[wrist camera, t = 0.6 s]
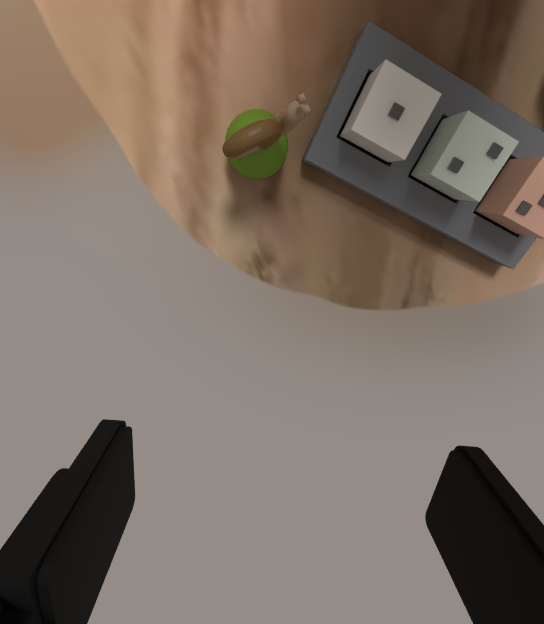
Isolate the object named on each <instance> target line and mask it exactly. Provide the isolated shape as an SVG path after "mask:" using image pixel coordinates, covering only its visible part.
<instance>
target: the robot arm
mask: <svg viewBox="0 0 544 624" xmlns="http://www.w3.org/2000/svg"><path fill="white" fill-rule="evenodd" d="M134 501H135V483H134V462H133V440H132V428H131V427H126V423H125V421H118V420H102V421H101V422H100V423H99V425H98V426H97V428H96V429H95V431H94V432H93V434H92V435H91V437H90V438H89V440H88V441H87V443H86V444H85V445H84V447H83V448H82V450H81V451H80V453H79V455H78V456H77V457H76V459H75V460H74V462H73V463H72V465H71V466H70V468H69V469H65V468H64V469H60V470H59V471H57V472H56V473H55V474H54V475H53V477H52V478H51V479H50V481H49V482H48V483H47V485H46V486H45V488H44V489H43V490H42V492H41V493H40V495H39V496H38V498H37V499H36V500H35V502H34V503H33V505H32V506H31V507H30V509H29V510H28V512H27V513H26V514H25V516H24V517H23V519H22V520H21V522H20V523H19V524H18V526H17V527H16V529H15V530H14V531H13V533H12V534H11V536H10V537H9V538H8V540H7V541H6V543H5V544H4V545H3V547H2V548H1V550H0V624H87V623H88V620H89V617H90V615H91V613H92V610H93V608H94V605H95V602H96V600H97V597H98V595H99V592H100V590H101V587H102V585H103V582H104V580H105V577H106V575H107V572H108V569H109V567H110V565H111V562H112V559H113V557H114V554H115V552H116V550H117V547H118V545H119V542H120V539H121V537H122V534H123V532H124V529H125V526H126V524H127V522H128V519H129V517H130V514H131V512H132V509H133V506H134ZM425 518H426V524H427V527H428V529H429V531H430V533H431V536H432V538H433V540H434V542H435V544H436V546H437V548H438V550H439V552H440V554H441V556H442V559H443V561H444V563H445V565H446V567H447V569H448V571H449V574H450V575H451V578H452V580H453V582H454V584H455V586H456V588H457V590H458V592H459V595H460V597H461V599H462V601H463V603H464V605H465V607H466V609H467V611H468V614H469V616H470V618H471V620H472V622H473V624H544V525H543V524H542V522H541V521H540V520H539V519H538V518H537V516H536V515H535V514H534V513H533V511H532V510H531V509H530V508H529V507H528V505H527V504H526V503H525V502H524V500H523V499H522V498H521V497H520V495H519V494H518V493H517V492H516V491H515V489H514V488H513V487H512V486H511V484H510V483H509V482H508V481H507V480H506V478H505V477H504V476H503V475H502V473H501V472H500V471H499V470H498V468H497V467H496V466H495V465H494V464H493V462H492V461H491V460H490V459H489V457H488V456H487V455H486V454H485V453H484V451H483V450H482V449H481V448H479V447H471V446H470V447H469V446H457V447H456V448H455V449H454V451H451V452H450V453H449V456H448V458H447V461H446V463H445V466H444V468H443V471H442V473H441V476H440V478H439V481H438V483H437V486H436V489H435V491H434V494H433V496H432V499H431V501H430V504H429V506H428V509H427V511H426V517H425Z"/></svg>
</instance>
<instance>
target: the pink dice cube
mask: <svg viewBox="0 0 544 624" xmlns="http://www.w3.org/2000/svg"><path fill="white" fill-rule="evenodd" d="M475 211H476V212H478V213H480V214H482V215H483V216H485V217H487V218H489V219H491V220H492V221H494V222H496V223H498V224H500V225H501V226H503V227H505V228H507V229H509V230H510V231H512V232H514V233H517V234H521V235H526V236H531V237H536V238H540V239H544V157H532V158H520V159H509V160H508V162H507V163H506V165H505V166H504V168H503V169H502V171H501V173H500V174H499V176H498V177H497V179H496V180H495V182H494V183H493V185H492V186H491V188H490V189H489V191H488V192H487V194H486V195H485V197H484V198H483V200H482V201H481V203H480V204H479V206H478V207H477V209H476V210H475Z"/></svg>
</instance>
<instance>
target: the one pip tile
mask: <svg viewBox="0 0 544 624" xmlns="http://www.w3.org/2000/svg"><path fill="white" fill-rule="evenodd" d="M441 95H442V94H441V93H440V92H438V91H436V90H435V89H433V88H432V87H430V86H428V85H427V84H425V83H423V82H422V81H420V80H419V79H417V78H415V77H414V76H412V75H411V74H409V73H407V72H406V71H404V70H402V69H401V68H399V67H398V66H396V65H394V64H393V63H391V62H390V61H388V60H386V59H385V60H384V61H383V62H382V63H381V64H380V65H379V66H378V67H377V68H376V69H375V70H374V71H373V72H372V73H371V74H370V75H369V77H368V79H367V81H366V83H365V85H364V87H363V89H362V92H361V94H360V96H359V98H358V100H357V102H356V104H355V106H354V108H353V110H352V112H351V114H350V116H349V118H348V120H347V122H346V125H345V127H344V129H343V131H342V133H341V135H340V136H341V137H343V138H345V139H346V140H348V141H350V142H352V143H354V144H355V145H357V146H359V147H361V148H363V149H364V150H366V151H368V152H370V153H372V154H373V155H375V156H377V157H379V158H381V159H382V160H384V161H386V162H394V161H401V160H405V159H406V157H407V155H408V154H409V152H410V150H411V148H412V146H413V145H414V143H415V141H416V139H417V138H418V136H419V134H420V132H421V130H422V129H423V127H424V125H425V123H426V121H427V120H428V118H429V116H430V114H431V112H432V111H433V109H434V107H435V105H436V104H437V102H438V100H439V98H440V96H441Z"/></svg>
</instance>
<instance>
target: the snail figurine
mask: <svg viewBox="0 0 544 624" xmlns="http://www.w3.org/2000/svg"><path fill="white" fill-rule="evenodd" d="M297 99H298V101H293V102H291V103H290V104H289V105H288V106H287V107H286V110H285V111H284V112H283V113H282V114H281V116H280V117H279V118H278V119H277V118H276V117H275V116H274V115H272V114H271V113H269V112H267V111H264V110H259V109H253V110H248V111H245V112H243V113H241V114H240V115H238V116H237V117H236V118H235V119H234V120H233V121H232V123H231V124H230V126H229V128H228V131H227V134H226V140H225V143H224V145H223V153H224V155H225V156H226V157H228V159H229V161H230V163H231V164H232V166H233V167H234V168H235V169H236V170H237V171H238V172H239V173H240V174H242V175H243V176H245V177H248V178H252V179H263V178H266V177H269V176H271V175H272V174H274V173H275V172H276V171H277V170H278V169H279V168H280V167H281V166H282V164H283V162H284V160H285V158H286V155H287V149H288V141H287V135H286V133H287V132H288V131H290V130H292V129H293V128H294V127H295V126H296V125H297V123H299V122H301V121H302V120H303V119H304V117H305V115H307V114H309V113H310V107H309V105H305V104H304V102H305V101H306V97H305V95H304V94H303V93H300V94H299V95H298V98H297Z"/></svg>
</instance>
